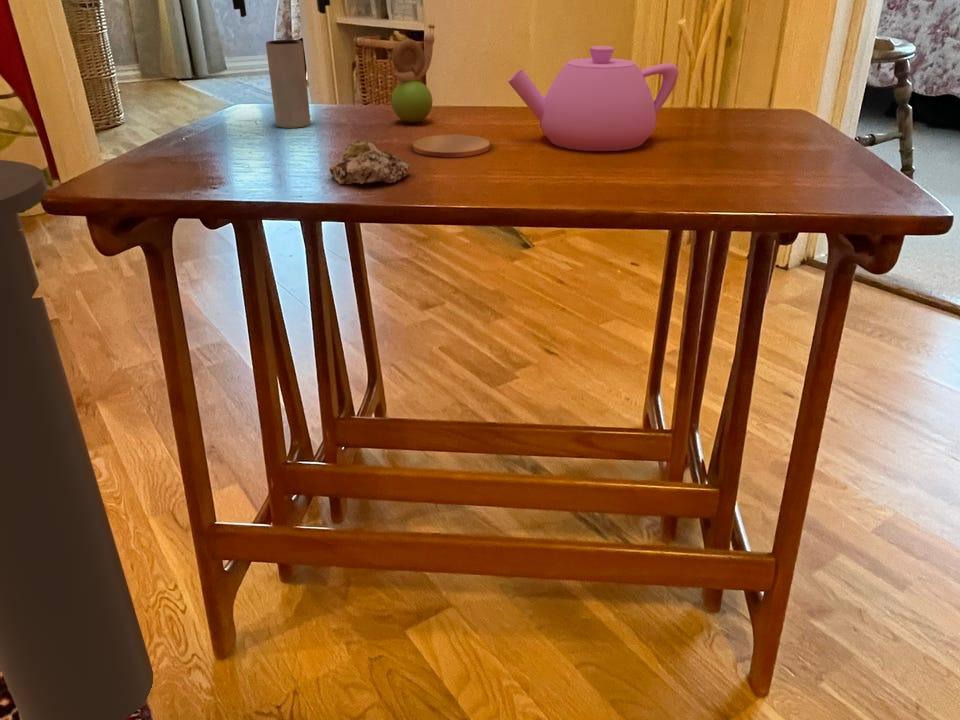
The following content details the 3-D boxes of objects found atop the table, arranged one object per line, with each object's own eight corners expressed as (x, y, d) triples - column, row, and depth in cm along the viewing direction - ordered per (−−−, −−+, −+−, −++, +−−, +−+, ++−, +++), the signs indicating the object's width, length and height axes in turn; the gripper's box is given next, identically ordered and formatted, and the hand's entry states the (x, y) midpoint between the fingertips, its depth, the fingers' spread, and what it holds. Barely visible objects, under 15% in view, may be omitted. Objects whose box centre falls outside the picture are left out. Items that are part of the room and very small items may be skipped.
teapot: (504, 129, 101) (504, 40, 96) (658, 127, 101) (667, 39, 96) (510, 154, 89) (511, 54, 84) (685, 152, 89) (697, 53, 84)
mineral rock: (421, 161, 77) (340, 143, 74) (411, 204, 79) (331, 188, 76) (402, 141, 86) (329, 125, 84) (393, 180, 88) (322, 165, 85)
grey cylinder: (307, 128, 102) (298, 43, 97) (272, 128, 102) (261, 43, 97) (313, 121, 106) (305, 39, 101) (279, 121, 106) (269, 39, 101)
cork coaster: (421, 160, 87) (421, 154, 87) (406, 142, 95) (406, 137, 94) (499, 154, 89) (499, 149, 89) (478, 137, 97) (478, 132, 97)
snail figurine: (446, 122, 105) (444, 25, 99) (405, 128, 102) (400, 28, 96) (425, 115, 109) (422, 22, 103) (385, 121, 106) (379, 25, 100)
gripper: (334, -146, 95) (348, 9, 103) (185, -146, 91) (212, 14, 99) (342, -151, 88) (356, 14, 97) (181, -152, 85) (210, 20, 93)
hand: (283, 14), depth 98 cm, fingers open, 9 cm apart
